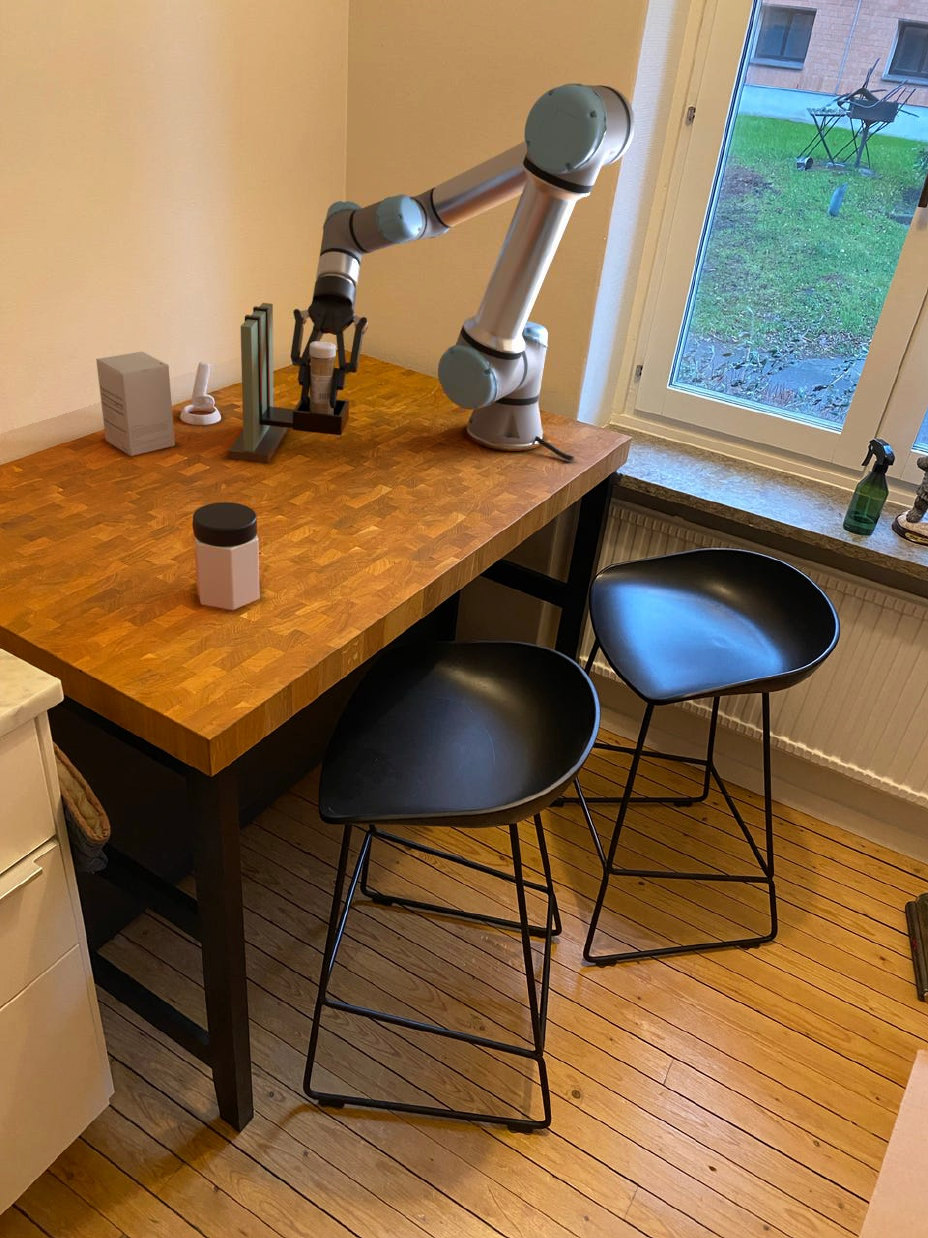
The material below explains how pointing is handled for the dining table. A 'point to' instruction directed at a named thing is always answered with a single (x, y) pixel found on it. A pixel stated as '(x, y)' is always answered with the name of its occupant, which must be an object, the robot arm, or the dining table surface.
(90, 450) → the dining table surface
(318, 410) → the sprinkles bottle
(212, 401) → the white vr controller
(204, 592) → the jar
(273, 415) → the black tray bracket
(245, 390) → the green slatted stand
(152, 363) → the rectangular carton
